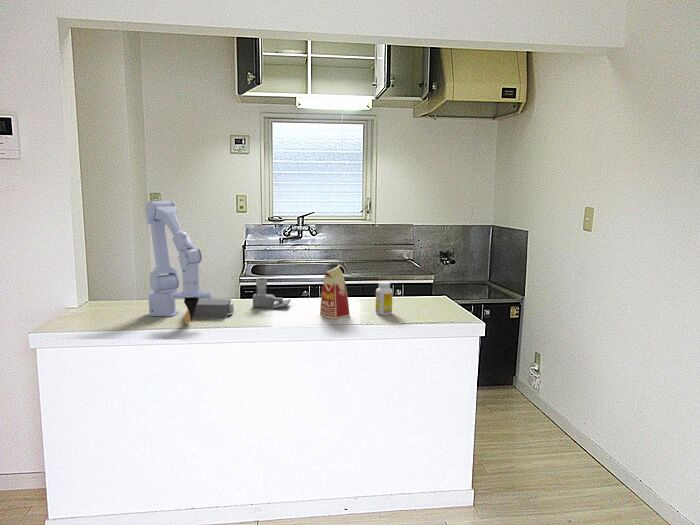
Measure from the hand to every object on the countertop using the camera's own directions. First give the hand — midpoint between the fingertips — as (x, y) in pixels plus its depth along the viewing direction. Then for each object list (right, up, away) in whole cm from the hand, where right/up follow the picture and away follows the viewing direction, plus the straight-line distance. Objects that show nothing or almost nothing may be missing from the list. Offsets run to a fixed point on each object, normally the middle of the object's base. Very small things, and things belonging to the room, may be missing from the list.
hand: (192, 317), depth 195 cm
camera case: (+3, 0, +14) cm, 14 cm away
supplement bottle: (+72, -1, +20) cm, 74 cm away
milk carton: (+52, -1, +15) cm, 54 cm away
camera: (+25, +1, +27) cm, 37 cm away
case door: (-3, -2, +3) cm, 4 cm away
